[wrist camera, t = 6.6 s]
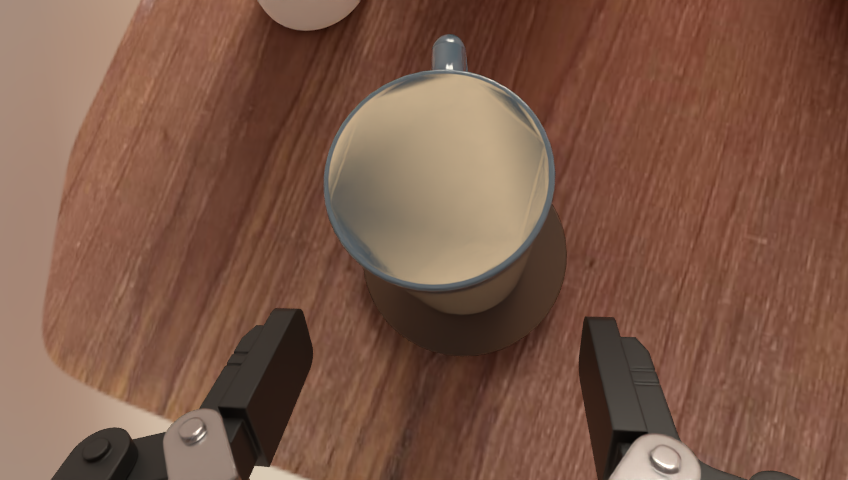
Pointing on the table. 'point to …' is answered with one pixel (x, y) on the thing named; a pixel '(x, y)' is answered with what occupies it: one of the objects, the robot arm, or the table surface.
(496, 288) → the beer stein
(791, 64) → the table surface
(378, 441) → the table surface
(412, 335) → the swivel stand
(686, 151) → the table surface
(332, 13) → the water bottle
